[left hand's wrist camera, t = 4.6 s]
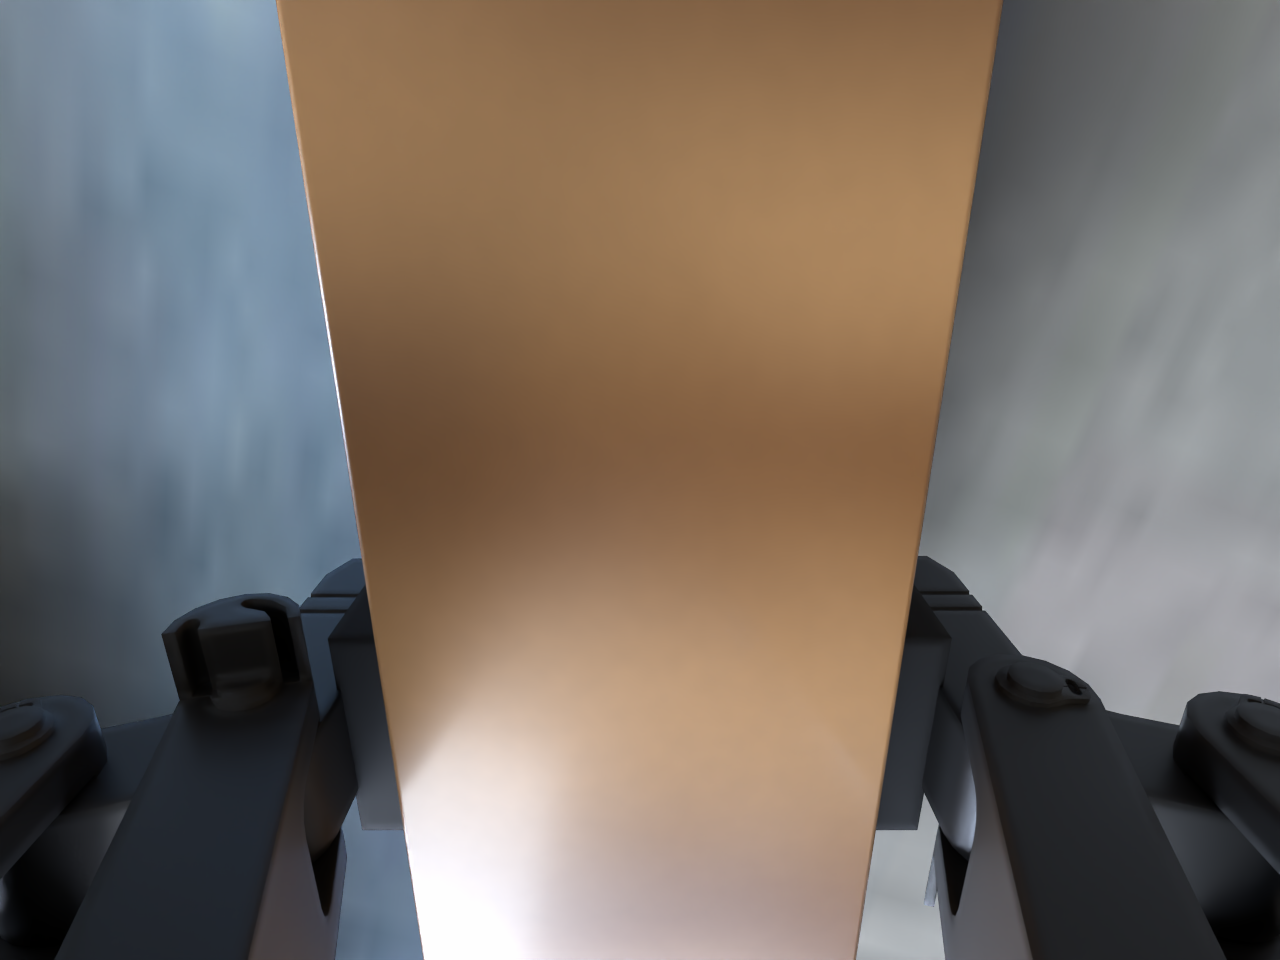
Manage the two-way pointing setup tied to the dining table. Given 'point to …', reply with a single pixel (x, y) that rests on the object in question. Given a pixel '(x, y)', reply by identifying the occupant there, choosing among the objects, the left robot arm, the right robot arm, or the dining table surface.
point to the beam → (639, 439)
